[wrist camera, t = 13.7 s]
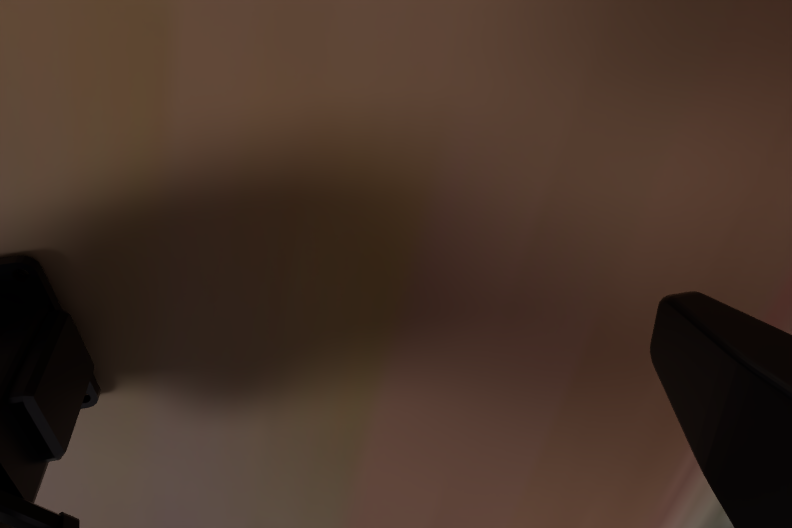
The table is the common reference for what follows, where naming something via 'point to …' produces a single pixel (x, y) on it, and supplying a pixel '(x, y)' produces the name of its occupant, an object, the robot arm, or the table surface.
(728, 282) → the table surface
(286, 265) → the table surface
